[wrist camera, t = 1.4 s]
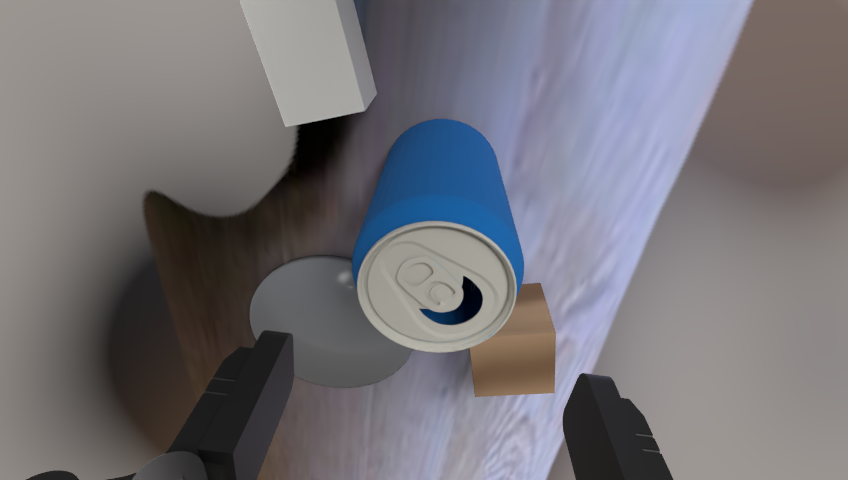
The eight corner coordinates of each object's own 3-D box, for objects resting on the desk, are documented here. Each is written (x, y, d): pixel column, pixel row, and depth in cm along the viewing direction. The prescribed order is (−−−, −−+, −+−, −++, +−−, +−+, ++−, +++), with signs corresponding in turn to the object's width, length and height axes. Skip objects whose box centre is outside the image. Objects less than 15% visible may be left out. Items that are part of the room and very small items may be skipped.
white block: (268, -14, 21) (233, -15, 18) (345, -34, 21) (324, -39, 17) (308, 107, 24) (285, 127, 21) (377, 93, 24) (365, 110, 20)
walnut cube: (466, 287, 30) (468, 338, 26) (540, 282, 29) (555, 332, 25) (471, 342, 32) (475, 396, 28) (540, 338, 32) (554, 392, 28)
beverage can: (439, 237, 28) (432, 385, 18) (364, 167, 26) (306, 288, 15) (519, 173, 25) (568, 300, 15) (444, 89, 23) (440, 170, 13)
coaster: (246, 243, 29) (243, 248, 28) (425, 268, 29) (425, 273, 29) (258, 371, 35) (255, 376, 34) (406, 390, 35) (405, 396, 35)
